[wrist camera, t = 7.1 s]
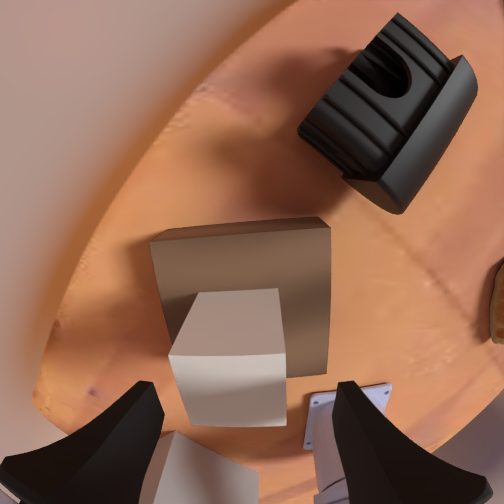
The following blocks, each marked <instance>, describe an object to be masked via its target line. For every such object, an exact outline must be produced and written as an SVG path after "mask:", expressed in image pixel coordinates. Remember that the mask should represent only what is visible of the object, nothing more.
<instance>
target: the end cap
mask: <svg viewBox="0 0 504 504" xmlns="http://www.w3.org/2000/svg"><path fill="white" fill-rule="evenodd" d="M477 91H478V85H477V79H476V76H475V74H474V71H473V69H472V68H471V66H470V64H469V63H468V61H467V60H466V59H465V57H464V56H463V55H460V56H458V57H456V58H454V59H452V60H449V59H448V58H447V57H446V56H445V55H444V54H443V53H442V52H441V51H440V50H439V49H438V48H437V47H436V46H435V45H434V44H433V43H432V42H431V41H430V40H429V39H428V38H427V37H426V36H425V35H424V34H423V33H422V32H420V31H419V30H418V29H417V28H416V27H415V26H414V25H413V24H411V23H410V22H409V21H408V20H407V19H405V18H404V17H403V16H402V15H400V14H399V13H397V14H396V15H395V16H394V17H393V18H392V19H391V20H390V21H389V22H388V23H387V24H386V25H385V26H384V27H383V28H382V30H381V31H380V32H379V33H378V34H377V35H376V36H375V37H374V38H373V40H372V41H371V42H370V43H369V44H368V45H367V46H366V48H365V49H364V50H363V51H362V52H361V53H360V54H359V55H358V57H357V58H356V59H355V60H354V61H353V62H352V63H351V65H350V66H349V67H348V68H347V69H346V70H345V71H344V72H343V73H342V74H341V76H340V77H339V78H338V79H337V80H336V81H335V83H334V84H333V85H332V86H331V87H330V89H329V90H328V91H327V92H326V93H325V95H324V96H323V97H322V98H321V99H320V100H319V102H318V103H317V104H316V105H315V107H314V108H313V109H312V110H311V111H310V113H309V114H308V115H307V116H306V118H305V119H304V120H303V122H302V123H301V124H300V125H299V127H298V128H297V129H298V130H297V131H298V135H299V136H300V138H301V139H303V140H304V141H305V142H306V143H308V144H309V145H310V146H312V147H313V148H314V149H315V150H317V151H318V152H319V153H320V154H322V155H323V156H324V157H325V158H326V159H328V160H329V161H330V162H331V163H332V164H334V165H335V166H336V167H337V168H338V169H339V170H341V171H342V172H343V173H344V174H343V175H342V177H341V178H342V179H343V180H345V181H346V182H347V183H348V184H349V185H351V186H352V187H353V188H354V189H355V190H357V191H358V192H359V193H361V194H362V195H363V196H365V197H366V198H367V199H369V200H370V201H371V202H373V203H374V204H376V205H377V206H379V207H380V208H382V209H384V210H386V211H387V212H390V213H392V214H396V215H399V214H402V213H403V212H404V211H405V210H406V208H407V207H408V206H409V204H410V203H411V201H412V200H413V199H414V197H415V196H416V194H417V193H418V192H419V190H420V189H421V187H422V186H423V184H424V183H425V181H426V180H427V178H428V177H429V175H430V174H431V172H432V171H433V169H434V168H435V166H436V165H437V163H438V162H439V160H440V159H441V157H442V155H443V154H444V152H445V151H446V149H447V147H448V146H449V144H450V142H451V141H452V139H453V137H454V136H455V134H456V132H457V131H458V129H459V127H460V125H461V124H462V122H463V120H464V118H465V117H466V115H467V113H468V111H469V109H470V107H471V106H472V104H473V102H474V100H475V98H476V96H477Z"/></svg>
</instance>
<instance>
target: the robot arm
mask: <svg viewBox="0 0 504 504" xmlns="http://www.w3.org/2000/svg"><path fill="white" fill-rule="evenodd" d="M391 391H392V385H391V384H390V383H387V384H381V385H376V386H370V387H363V388H360V387H359V386H358V385H357V384H356V382H354V381H346V382H338V386H337V391H333V392H323V393H314V394H312V395H311V397H310V403H309V410H308V417H307V424H306V431H305V437H304V443H303V449H304V450H312V449H313V456H314V464H315V472H316V480H317V487H318V491H319V494H316V495H314V496H313V497H314V504H484V503H485V502H487V501H488V500H489V499H490V498H491V497H492V495H493V491H492V489H491V487H490V485H489V483H488V481H487V479H486V477H484V476H481V475H478V474H474V473H471V472H468V471H465V470H462V469H460V468H458V467H455V466H453V465H451V464H449V463H447V462H445V461H443V460H441V459H439V458H437V457H436V456H434V455H432V454H430V453H429V452H427V451H426V450H424V449H423V448H421V447H420V446H418V445H417V444H416V443H414V442H413V441H412V440H410V439H409V438H408V437H407V436H406V435H404V434H403V433H402V432H401V431H400V430H399V429H398V428H397V427H395V426H394V425H393V424H392V423H391V422H390V421H389V420H388V419H387V417H386V414H385V412H384V410H385V407H386V404H387V402H388V399H389V396H390V393H391ZM315 401H316V402H315ZM164 416H165V414H164V411H163V409H162V406H161V403H160V401H159V398H158V395H157V393H156V390H155V387H154V384H153V382H148V381H138V382H137V383H136V384H135V385H134V386H133V387H131V388H130V389H129V390H128V391H127V392H126V393H125V394H124V395H123V396H121V397H120V398H119V399H118V400H117V401H116V402H114V403H113V404H112V405H111V406H110V407H109V408H107V409H106V410H105V411H104V412H103V413H101V414H100V415H99V416H97V417H96V418H95V419H93V420H92V421H91V422H89V423H88V424H87V425H85V426H84V427H82V428H81V429H79V430H77V431H76V432H74V433H72V434H71V435H69V436H67V437H65V438H63V439H61V440H59V441H57V442H54V443H52V444H50V445H48V446H45V447H43V448H40V449H37V450H34V451H30V452H27V453H23V454H18V455H13V456H7V457H5V458H4V460H3V461H2V463H1V464H0V483H1V484H2V485H3V486H5V487H6V488H7V489H8V490H9V491H10V492H11V493H13V494H14V495H15V496H16V497H17V498H19V499H20V500H21V501H20V503H19V504H139V499H140V494H141V489H142V485H143V481H144V478H145V474H146V472H147V469H148V466H149V464H150V461H151V458H152V456H153V453H154V450H155V448H156V445H157V442H158V440H159V437H160V434H161V430H162V425H163V420H164ZM0 504H18V503H17V502H16V501H14V500H13V499H12V498H10V497H9V496H8V495H7V494H6V493H4V492H3V491H2V490H1V489H0Z"/></svg>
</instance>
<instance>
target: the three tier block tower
mask: <svg viewBox="0 0 504 504" xmlns="http://www.w3.org/2000/svg"><path fill="white" fill-rule="evenodd" d="M258 492H259V472H257V471H255V470H252V469H250V468H248V467H245V466H243V465H241V464H238V463H236V462H234V461H232V460H230V459H228V458H226V457H224V456H222V455H220V454H218V453H216V452H214V451H212V450H210V449H208V448H206V447H204V446H202V445H200V444H198V443H197V442H195V441H193V440H191V439H190V438H188V437H186V436H184V435H183V434H181V433H179V432H178V431H176V430H175V431H173V432H171V433H169V434H167V435H166V436H164V437H162V438H160V439H159V440H158V442H157V445H156V448H155V450H154V453H153V456H152V458H151V461H150V464H149V466H148V469H147V472H146V474H145V478H144V481H143V485H142V489H141V494H140V499H139V504H258Z"/></svg>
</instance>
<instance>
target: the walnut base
mask: <svg viewBox="0 0 504 504" xmlns="http://www.w3.org/2000/svg"><path fill="white" fill-rule="evenodd" d="M149 245H150V251H151V256H152V261H153V266H154V271H155V276H156V281H157V286H158V290H159V295H160V299H161V303H162V308H163V312H164V316H165V320H166V324H167V328H168V331H169V335H170V339H171V342H172V346H173V344H174V342H175V340H176V338H177V336H178V333H179V331H180V329H181V327H182V325H183V323H184V321H185V319H186V317H187V315H188V313H189V311H190V309H191V307H192V305H193V303H194V301H195V299H196V297H197V295H198V293H199V292H218V291H238V290H256V289H272V288H278V292H279V300H280V308H281V317H282V325H283V334H284V343H285V352H286V378H293V377H303V376H313V375H322V374H327V361H328V347H329V329H330V304H331V227H329V226H328V225H327V224H326V223H325V222H324V221H323V220H321V219H320V218H319V217H302V218H288V219H274V220H261V221H248V222H236V223H225V224H214V225H203V226H193V227H183V228H173V229H168V230H167V231H165V232H164V233H162V234H161V235H159V236H158V237H156V238H155V239H153V240H152V241H150V242H149Z"/></svg>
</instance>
